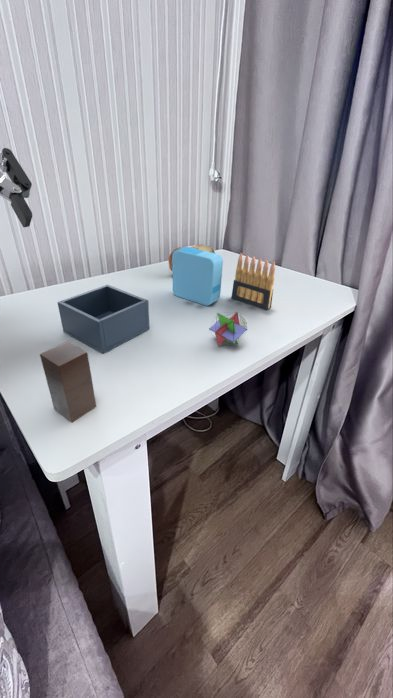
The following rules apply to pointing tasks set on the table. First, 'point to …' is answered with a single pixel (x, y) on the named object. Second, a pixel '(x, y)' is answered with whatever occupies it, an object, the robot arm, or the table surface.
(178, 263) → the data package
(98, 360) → the table surface
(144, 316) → the bin
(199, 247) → the tin
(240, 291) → the ammunition clip
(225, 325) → the geometric puzzle
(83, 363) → the block
